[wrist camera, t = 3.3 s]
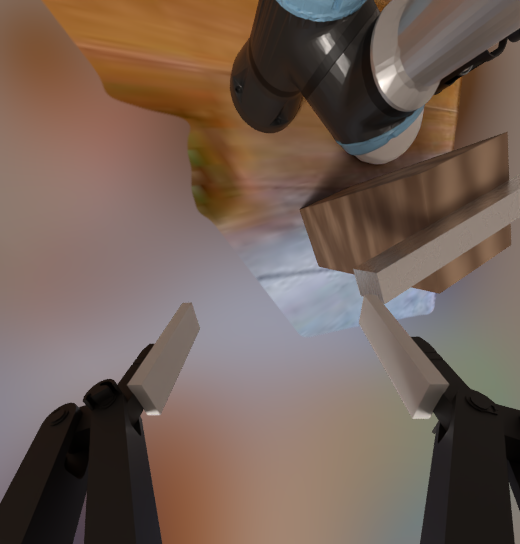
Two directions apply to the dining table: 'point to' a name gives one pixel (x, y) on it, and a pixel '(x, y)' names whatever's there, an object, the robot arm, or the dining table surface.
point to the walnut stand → (410, 211)
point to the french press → (476, 62)
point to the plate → (394, 145)
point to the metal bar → (439, 243)
